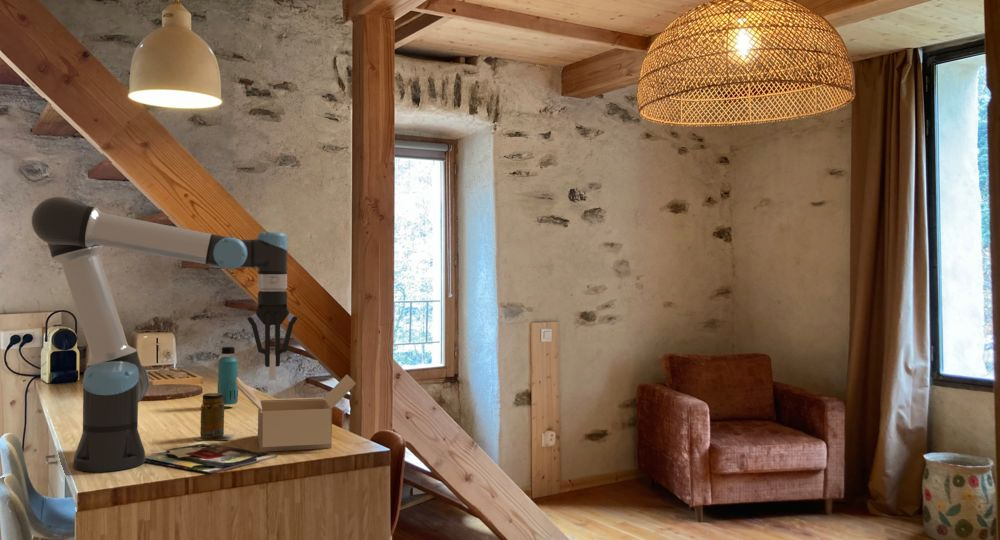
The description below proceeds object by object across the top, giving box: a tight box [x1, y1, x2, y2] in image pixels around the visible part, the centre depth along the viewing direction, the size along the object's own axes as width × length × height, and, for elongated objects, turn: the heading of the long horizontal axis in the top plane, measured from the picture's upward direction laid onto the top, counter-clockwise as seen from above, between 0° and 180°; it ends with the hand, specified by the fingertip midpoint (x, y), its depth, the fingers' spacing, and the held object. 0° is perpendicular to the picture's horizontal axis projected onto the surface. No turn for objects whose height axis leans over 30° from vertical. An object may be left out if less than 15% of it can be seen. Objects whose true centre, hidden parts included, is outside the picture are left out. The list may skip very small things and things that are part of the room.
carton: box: [257, 398, 333, 453], centre depth 210 cm, size 18×16×10 cm
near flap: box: [262, 409, 331, 447], centre depth 200 cm, size 17×1×9 cm, turn 109°
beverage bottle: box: [217, 346, 239, 406], centre depth 257 cm, size 6×7×20 cm
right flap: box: [323, 374, 357, 410], centre depth 214 cm, size 1×15×9 cm
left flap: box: [236, 376, 262, 411], centre depth 206 cm, size 1×15×9 cm
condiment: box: [195, 392, 234, 442], centre depth 214 cm, size 7×8×12 cm
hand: (272, 378), depth 208 cm, fingers closed
